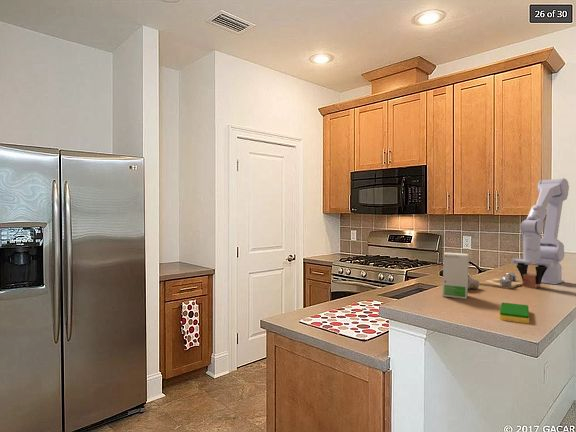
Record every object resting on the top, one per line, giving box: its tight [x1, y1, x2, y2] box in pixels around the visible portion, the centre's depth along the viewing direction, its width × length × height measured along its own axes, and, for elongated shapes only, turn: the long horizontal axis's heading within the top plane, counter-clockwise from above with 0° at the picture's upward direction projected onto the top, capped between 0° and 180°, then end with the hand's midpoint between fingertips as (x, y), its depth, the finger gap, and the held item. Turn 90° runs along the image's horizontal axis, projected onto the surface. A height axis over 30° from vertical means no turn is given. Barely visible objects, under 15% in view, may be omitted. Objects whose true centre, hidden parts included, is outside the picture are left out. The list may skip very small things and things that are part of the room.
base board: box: [479, 277, 523, 290], centre depth 159 cm, size 17×12×1 cm
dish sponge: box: [499, 302, 530, 324], centre depth 113 cm, size 7×14×2 cm, turn 149°
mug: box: [468, 274, 480, 290], centre depth 150 cm, size 8×10×10 cm
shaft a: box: [503, 271, 517, 281], centre depth 162 cm, size 5×3×3 cm
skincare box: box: [442, 251, 470, 300], centre depth 138 cm, size 8×7×16 cm
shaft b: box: [500, 275, 511, 286], centre depth 152 cm, size 4×3×3 cm
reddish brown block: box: [522, 272, 541, 289], centre depth 153 cm, size 4×4×5 cm
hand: (531, 283), depth 153 cm, fingers closed on reddish brown block, 4 cm apart
